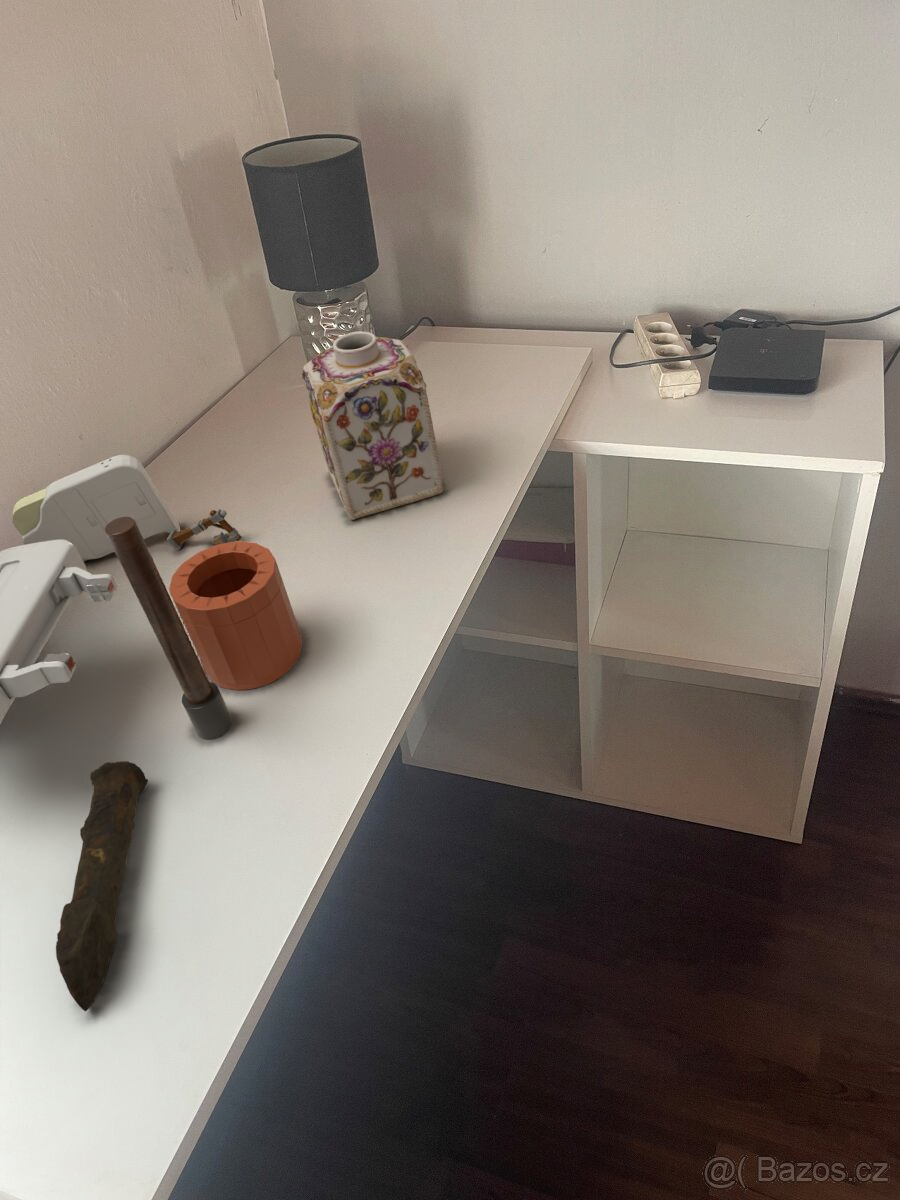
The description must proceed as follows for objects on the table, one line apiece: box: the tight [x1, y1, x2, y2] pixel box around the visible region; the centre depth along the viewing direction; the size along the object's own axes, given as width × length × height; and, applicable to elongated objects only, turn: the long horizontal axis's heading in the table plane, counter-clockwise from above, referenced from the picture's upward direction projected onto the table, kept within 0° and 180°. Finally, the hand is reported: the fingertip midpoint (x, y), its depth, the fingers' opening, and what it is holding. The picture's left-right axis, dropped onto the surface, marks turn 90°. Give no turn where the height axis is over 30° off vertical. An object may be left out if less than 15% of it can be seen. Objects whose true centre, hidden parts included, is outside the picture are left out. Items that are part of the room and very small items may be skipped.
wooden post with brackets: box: [166, 508, 243, 551], centre depth 97 cm, size 2×8×4 cm, turn 84°
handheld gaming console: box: [11, 454, 181, 562], centre depth 96 cm, size 11×3×15 cm
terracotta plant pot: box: [168, 540, 303, 691], centre depth 80 cm, size 9×9×10 cm
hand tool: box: [55, 760, 149, 1012], centre depth 64 cm, size 19×4×5 cm, turn 6°
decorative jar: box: [301, 330, 443, 521], centre depth 97 cm, size 12×12×18 cm
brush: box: [105, 517, 233, 740], centre depth 69 cm, size 3×3×22 cm
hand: (92, 625), depth 70 cm, fingers open, 8 cm apart
